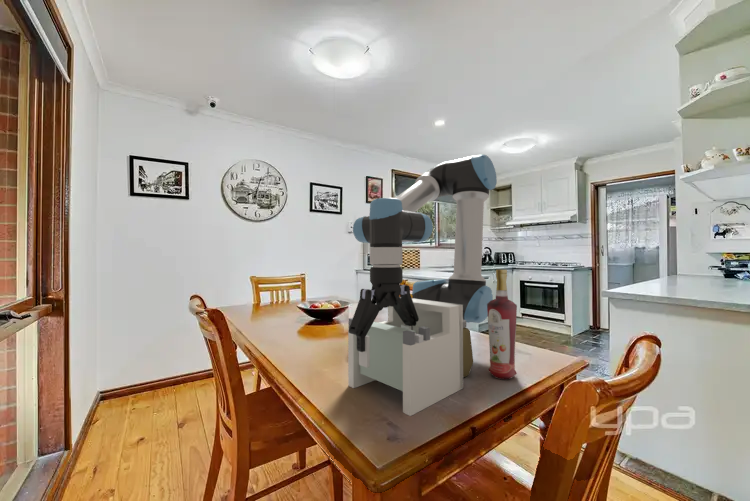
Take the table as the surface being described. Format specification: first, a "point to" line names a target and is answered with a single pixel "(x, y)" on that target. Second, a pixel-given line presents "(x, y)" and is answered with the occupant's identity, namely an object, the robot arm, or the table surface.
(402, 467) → the table surface
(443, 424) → the table surface
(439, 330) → the cabinet
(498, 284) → the liquor
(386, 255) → the robot arm
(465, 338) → the squeeze bottle
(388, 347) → the door
